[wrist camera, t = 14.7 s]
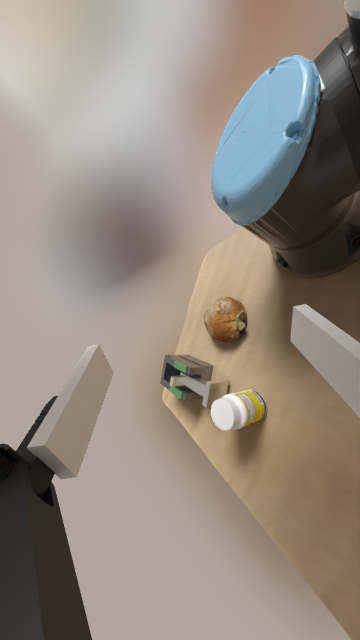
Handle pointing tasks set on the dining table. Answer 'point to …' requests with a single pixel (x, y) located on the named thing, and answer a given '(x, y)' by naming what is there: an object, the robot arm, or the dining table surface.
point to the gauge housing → (186, 365)
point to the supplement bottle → (238, 409)
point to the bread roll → (225, 319)
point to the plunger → (202, 387)
